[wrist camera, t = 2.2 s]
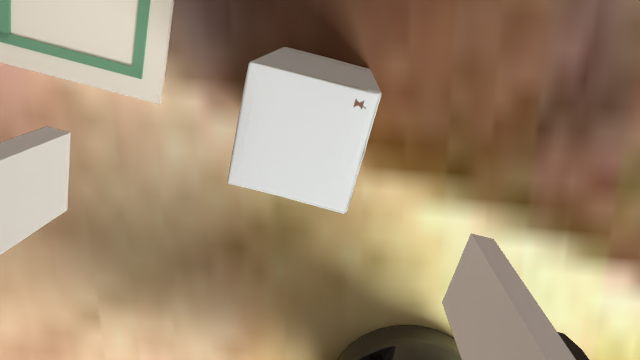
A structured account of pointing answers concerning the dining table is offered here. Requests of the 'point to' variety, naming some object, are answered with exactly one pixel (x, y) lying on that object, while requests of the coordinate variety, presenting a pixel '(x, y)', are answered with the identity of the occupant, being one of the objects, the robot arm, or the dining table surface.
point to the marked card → (91, 42)
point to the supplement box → (303, 127)
